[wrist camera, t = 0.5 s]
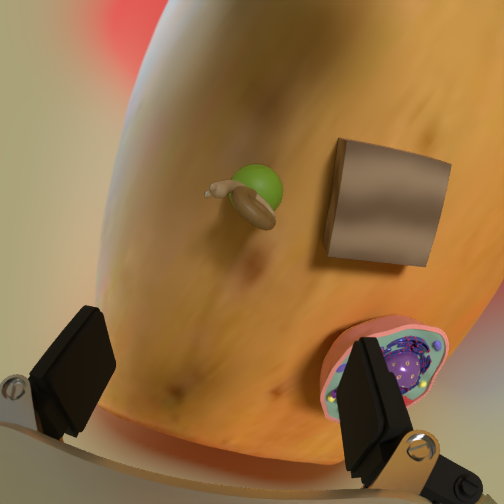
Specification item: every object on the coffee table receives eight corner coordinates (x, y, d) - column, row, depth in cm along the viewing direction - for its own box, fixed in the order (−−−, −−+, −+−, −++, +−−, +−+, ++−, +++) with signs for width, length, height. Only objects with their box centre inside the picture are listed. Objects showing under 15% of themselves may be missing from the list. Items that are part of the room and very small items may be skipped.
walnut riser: (338, 137, 30) (347, 140, 26) (434, 158, 30) (451, 164, 26) (322, 241, 35) (327, 256, 31) (412, 252, 35) (425, 267, 31)
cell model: (290, 374, 44) (291, 434, 34) (359, 268, 36) (385, 325, 26) (376, 394, 46) (389, 447, 36) (448, 307, 38) (482, 357, 27)
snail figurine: (245, 144, 31) (229, 159, 20) (292, 182, 32) (301, 217, 22) (215, 183, 33) (185, 218, 22) (260, 218, 34) (253, 269, 24)
